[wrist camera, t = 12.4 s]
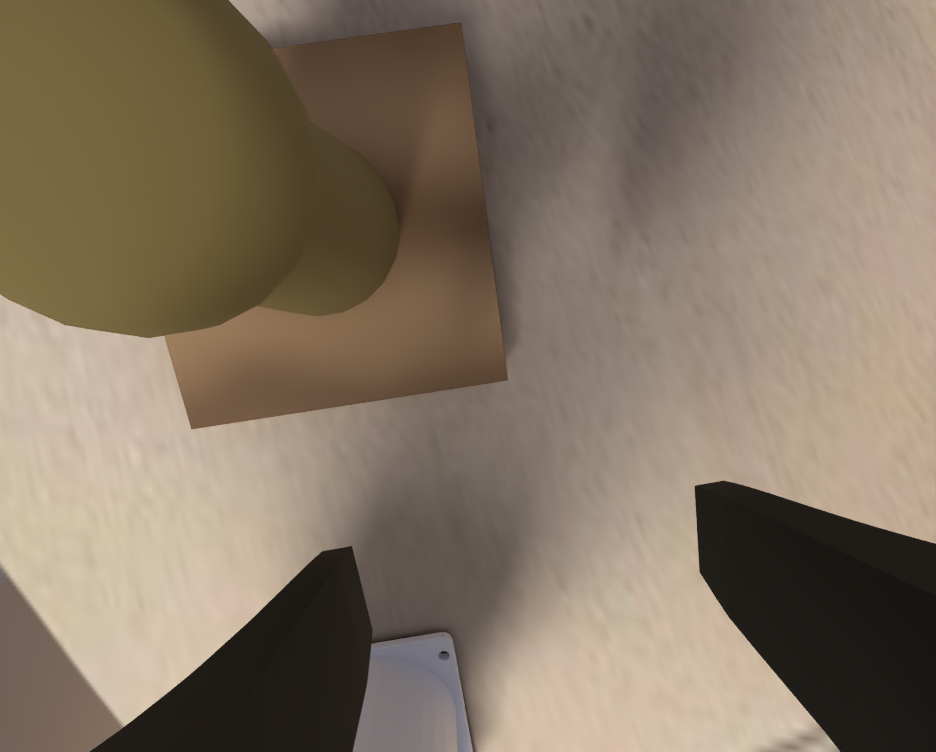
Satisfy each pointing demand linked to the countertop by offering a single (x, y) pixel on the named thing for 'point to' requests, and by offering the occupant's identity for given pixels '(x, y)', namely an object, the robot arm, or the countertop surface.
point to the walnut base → (417, 260)
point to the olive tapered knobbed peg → (172, 173)
